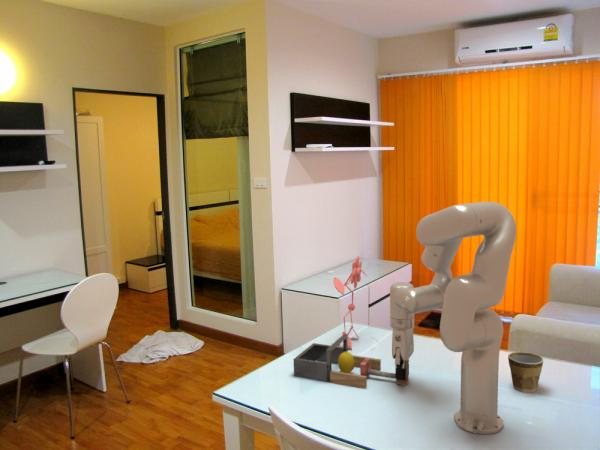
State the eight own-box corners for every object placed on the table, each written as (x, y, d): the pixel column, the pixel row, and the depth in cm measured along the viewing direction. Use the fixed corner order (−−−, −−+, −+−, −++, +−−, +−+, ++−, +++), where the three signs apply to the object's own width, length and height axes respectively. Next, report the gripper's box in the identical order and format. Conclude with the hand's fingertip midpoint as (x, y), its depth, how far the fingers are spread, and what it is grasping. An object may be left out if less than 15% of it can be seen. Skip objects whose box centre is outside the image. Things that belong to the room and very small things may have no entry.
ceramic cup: (546, 396, 156) (547, 364, 155) (510, 394, 159) (511, 362, 157) (535, 378, 169) (536, 348, 168) (503, 376, 171) (503, 347, 170)
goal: (330, 382, 170) (329, 350, 169) (293, 376, 176) (293, 344, 175) (347, 364, 185) (347, 334, 184) (313, 359, 191) (313, 329, 189)
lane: (365, 388, 165) (365, 377, 165) (330, 382, 170) (330, 371, 170) (380, 369, 180) (380, 359, 179) (347, 364, 185) (347, 354, 184)
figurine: (328, 353, 195) (328, 261, 190) (349, 332, 219) (350, 249, 214) (368, 359, 189) (369, 264, 185) (385, 337, 213) (387, 252, 208)
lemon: (354, 371, 179) (354, 348, 178) (354, 377, 173) (354, 354, 172) (338, 370, 180) (338, 348, 179) (337, 377, 174) (337, 354, 173)
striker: (405, 386, 165) (405, 359, 164) (360, 379, 171) (360, 352, 170) (409, 379, 170) (409, 353, 169) (365, 372, 176) (365, 347, 175)
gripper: (407, 331, 157) (407, 389, 159) (419, 315, 171) (419, 369, 174) (383, 328, 160) (383, 385, 162) (397, 313, 175) (397, 366, 177)
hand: (402, 376), depth 168 cm, fingers closed on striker, 3 cm apart
